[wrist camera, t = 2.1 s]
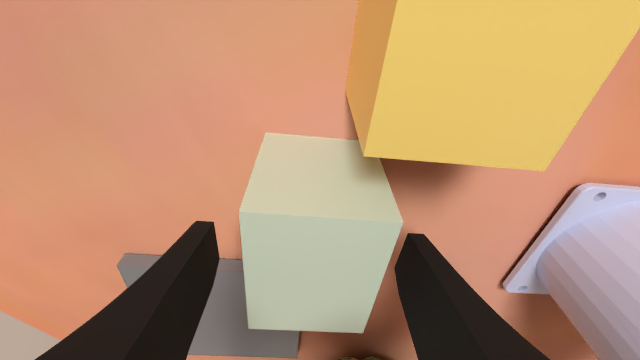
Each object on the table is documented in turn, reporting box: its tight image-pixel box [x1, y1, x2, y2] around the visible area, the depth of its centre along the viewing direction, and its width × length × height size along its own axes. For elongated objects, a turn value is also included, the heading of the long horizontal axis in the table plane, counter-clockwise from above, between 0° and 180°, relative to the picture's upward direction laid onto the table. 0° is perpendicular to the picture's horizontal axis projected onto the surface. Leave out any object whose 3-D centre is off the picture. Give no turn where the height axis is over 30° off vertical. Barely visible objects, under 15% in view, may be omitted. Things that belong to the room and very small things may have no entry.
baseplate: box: [117, 254, 300, 358], centre depth 18 cm, size 10×10×1 cm
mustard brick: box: [345, 0, 640, 171], centre depth 7 cm, size 4×6×5 cm
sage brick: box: [239, 133, 403, 333], centre depth 11 cm, size 4×6×5 cm
